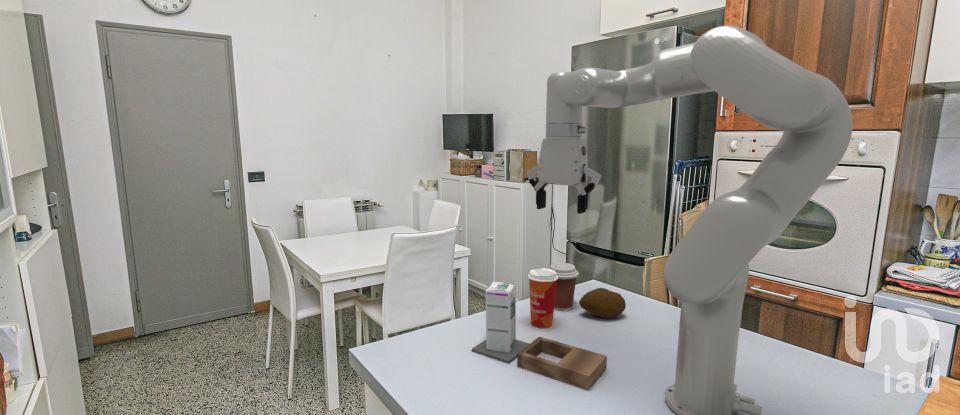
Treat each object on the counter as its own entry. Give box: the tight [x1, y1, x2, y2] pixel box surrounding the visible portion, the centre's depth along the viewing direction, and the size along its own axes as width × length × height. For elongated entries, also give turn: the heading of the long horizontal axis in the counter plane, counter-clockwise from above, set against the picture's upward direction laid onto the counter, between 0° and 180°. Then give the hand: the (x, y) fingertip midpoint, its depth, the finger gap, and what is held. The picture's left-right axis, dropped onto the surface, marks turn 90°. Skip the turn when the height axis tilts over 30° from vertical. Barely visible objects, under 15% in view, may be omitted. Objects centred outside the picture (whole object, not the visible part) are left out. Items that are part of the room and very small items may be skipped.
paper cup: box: [527, 267, 558, 329], centre depth 120 cm, size 8×8×14 cm
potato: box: [578, 287, 627, 319], centre depth 126 cm, size 8×12×8 cm, turn 96°
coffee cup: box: [548, 262, 580, 312], centre depth 132 cm, size 9×9×12 cm
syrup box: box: [485, 281, 517, 353], centre depth 106 cm, size 6×6×14 cm
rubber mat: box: [471, 339, 531, 364], centre depth 107 cm, size 10×10×1 cm
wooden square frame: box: [516, 336, 608, 391], centre depth 98 cm, size 16×10×3 cm, turn 55°
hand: (560, 210), depth 103 cm, fingers open, 9 cm apart
